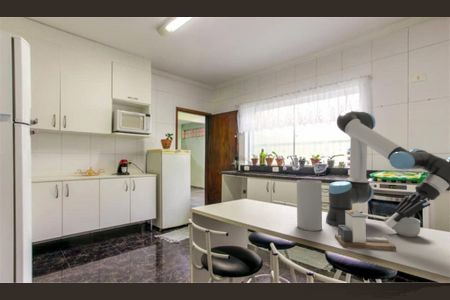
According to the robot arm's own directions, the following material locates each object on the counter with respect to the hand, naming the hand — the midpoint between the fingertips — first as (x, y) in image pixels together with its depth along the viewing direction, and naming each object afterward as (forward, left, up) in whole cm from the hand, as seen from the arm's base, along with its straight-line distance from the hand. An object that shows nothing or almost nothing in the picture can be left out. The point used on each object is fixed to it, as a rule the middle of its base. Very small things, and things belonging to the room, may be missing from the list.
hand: (387, 225), depth 97 cm
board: (0, -10, -8) cm, 13 cm away
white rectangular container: (0, -13, -7) cm, 15 cm away
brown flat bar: (0, -10, -7) cm, 12 cm away
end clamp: (0, -18, -7) cm, 19 cm away
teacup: (-16, +14, -9) cm, 23 cm away
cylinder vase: (-19, -29, -9) cm, 36 cm away
